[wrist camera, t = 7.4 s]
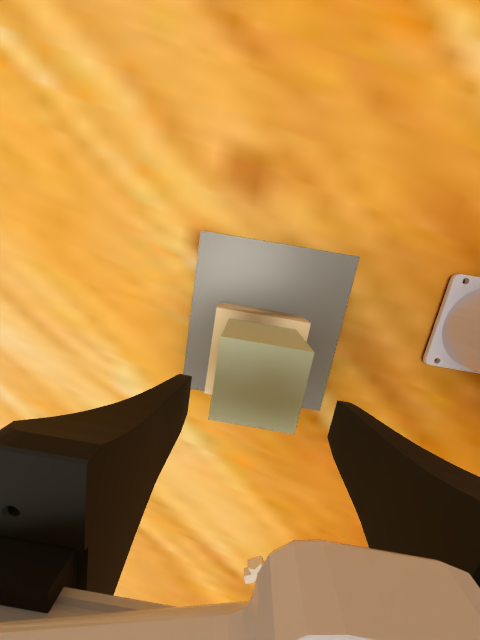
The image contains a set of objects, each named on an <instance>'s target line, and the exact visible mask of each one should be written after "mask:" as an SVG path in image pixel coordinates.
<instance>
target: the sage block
mask: <svg viewBox="0 0 480 640" xmlns="http://www.w3.org/2000/svg"><path fill="white" fill-rule="evenodd" d="M314 353H315V352H314V351H313V350H312V349H311V347H310V346H309V345H308V344H307V342H306V341H305V340H304V339H303V337H302V336H301V335H300V334H299V332H298V331H297V330H296V329H290V328H285V327H279V326H273V325H267V324H261V323H255V322H249V321H243V320H238V319H232V318H229V320H228V322H227V324H226V326H225V329H224V331H223V333H222V335H221V340H220V346H219V353H218V359H217V366H216V372H215V379H214V385H213V392H212V398H211V405H210V411H209V418H208V419H209V420H214V421H220V422H226V423H232V424H237V425H243V426H249V427H255V428H260V429H266V430H272V431H278V432H283V433H289V434H295V430H296V426H297V422H298V418H299V414H300V410H301V406H302V402H303V398H304V394H305V389H306V385H307V381H308V377H309V373H310V369H311V365H312V361H313V357H314Z"/></svg>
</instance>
